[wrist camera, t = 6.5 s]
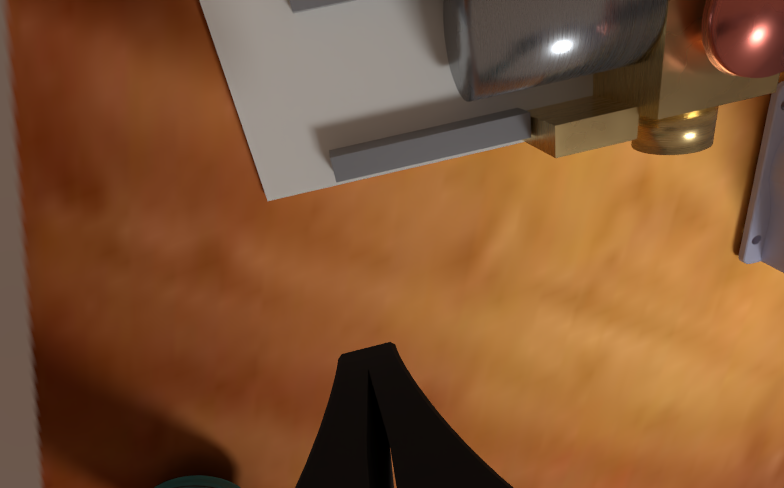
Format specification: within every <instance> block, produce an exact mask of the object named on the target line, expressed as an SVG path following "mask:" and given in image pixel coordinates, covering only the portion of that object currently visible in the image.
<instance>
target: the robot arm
mask: <svg viewBox="0 0 784 488" xmlns="http://www.w3.org/2000/svg"><path fill="white" fill-rule="evenodd" d="M783 101H784V81H782V82H780V83H779V84H778V85H777V90H776V92H775V93H772V94H771V99H770V103H769V108H768V113H767V118H766V123H765V128H764V133H763V138H762V143H761V148H760V153H759V158H758V163H757V167H756V172H755V177H754V182H753V187H752V192H751V197H750V202H749V207H748V212H747V217H746V222H745V227H744V231H743V236H742V241H741V246H740V251H739V260H740V261H742V262H744V263H746V264H751V263H755V262H759V261H762V262H764V263H766V264H768V265H770V266H772V267H773V268H775V269H777V270H779V271H781V272H783V273H784V102H783ZM782 102H783V104H782ZM781 104H782V106H781ZM390 448H391V452H390ZM391 454H392V461H393V467H394V473H395V479H396V486H397V488H513V487H512V486H511V485H510V484H509V483H507V482H506V481H505V480H504V479H503V478H501V477H500V476H499V475H498V474H497V473H496V472H495V471H494V470H493V469H492V468H491V467H490V466H489V465H487V464H486V463H485V462H484V461H483V460H482V459H481V458H480V457H479V456H478V455H477V454H476V453H475V452H474V451H473V450H472V449H471V448H470V447H469V446H468V445H467V444H466V443H465V442H464V441H463V440H462V439H461V438H460V436H459V435H458V434H457V433H456V432H455V431H454V430H453V429H452V428H451V426H450V425H449V424H448V423H447V422H446V421H445V420H444V418H443V417H442V416H441V415H440V414H439V412H438V411H437V410H436V409H435V407H434V406H433V405H432V404H431V402H430V401H429V400H428V398H427V397H426V396H425V394H424V393H423V392H422V390H421V389H420V388H419V386H418V385H417V384H416V382H415V381H414V379H413V378H412V376H411V374H410V373H409V371H408V370H407V368H406V366H405V365H404V363H403V361H402V359H401V357H400V355H399V353H398V351H397V348H396V345H395V344H393V343H391V342H388V343H384V344H380V345H376V346H372V347H368V348H364V349H360V350H356V351H353V352H349V353H345V354H342V355H341V356H340V357H339V359H338V365H337V370H336V375H335V379H334V383H333V387H332V391H331V394H330V398H329V401H328V404H327V407H326V410H325V414H324V417H323V420H322V423H321V426H320V429H319V431H318V434H317V437H316V439H315V442H314V444H313V447H312V449H311V452H310V454H309V457H308V460H307V462H306V465H305V467H304V469H303V471H302V474H301V476H300V478H299V480H298V483H297V485H296V487H295V488H394V483H393V473H392V462H391Z"/></svg>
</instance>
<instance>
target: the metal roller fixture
mask: <svg viewBox="0 0 784 488" xmlns="http://www.w3.org/2000/svg"><path fill="white" fill-rule="evenodd" d="M199 1H200V4H201V7H202V10H203V13H204V16H205V18H206V21H207V24H208V27H209V30H210V33H211V36H212V39H213V42H214V45H215V48H216V51H217V54H218V57H219V60H220V62H221V65H222V68H223V71H224V74H225V77H226V80H227V83H228V86H229V89H230V92H231V95H232V98H233V101H234V104H235V106H236V109H237V112H238V115H239V118H240V121H241V124H242V127H243V130H244V133H245V136H246V139H247V142H248V145H249V148H250V150H251V153H252V156H253V159H254V162H255V165H256V168H257V171H258V174H259V177H260V180H261V183H262V186H263V189H264V191H265V194H266V197H267V200H268V201H270V200H275V199H279V198H283V197H288V196H292V195H296V194H301V193H305V192H309V191H314V190H318V189H322V188H327V187H331V186H335V185H340V184H344V183H348V182H353V181H357V180H361V179H366V178H370V177H374V176H378V175H383V174H387V173H391V172H396V171H400V170H404V169H409V168H413V167H417V166H422V165H426V164H430V163H435V162H439V161H443V160H448V159H452V158H456V157H461V156H465V155H469V154H474V153H478V152H482V151H487V150H491V149H495V148H500V147H504V146H508V145H513V144H517V143H521V142H524V141H523V139H527V138H531V117H530V112H528V111H527V110H531V109H535V108H540V107H544V106H549V105H553V104H557V103H562V102H566V101H571V100H575V99H580V98H584V97H588V96H593V74H590V75H586V76H581V77H577V78H572V79H568V80H563V81H559V82H555V83H550V84H546V85H541V86H537V87H532V88H528V89H524V90H519V91H515V92H510V93H506V94H501V95H497V96H493V97H488V98H484V99H479V100H475V101H470V102H467V101H465V100H464V99H463V98H462V97H461V95H460V93H459V92H458V90H457V88H456V85H455V83H454V80H453V77H452V74H451V70H450V66H449V62H448V57H447V52H446V45H445V37H444V25H443V2H444V0H199Z"/></svg>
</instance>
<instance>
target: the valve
mask: <svg viewBox="0 0 784 488" xmlns="http://www.w3.org/2000/svg"><path fill="white" fill-rule="evenodd" d="M783 71H784V0H668V2H667V10H666V15H665V20H664V23H663V27H662V30H661V32H660V35H659V37H658V39H657V41H656V43H655V45H654V46H653V48H652V49H651V51H650V52H649V53H648V54H647V56H645V57H644V58H643V59H642V60H641V61H639V62H638V63H636V64H634V65H630V66H626V67H621V68H617V69H612V70H608V71H603V72H599V73H595V74H593V96H588V97H584V98H580V99H575V100H571V101H566V102H562V103H557V104H553V105H549V106H544V107H540V108H535V109H531V110H527V111H528V112H530V117H531V138H527V139H523V141H524V142H526V143H528V144H530V145H532V146H534V147H536V148H538V149H539V150H541V151H543V152H545V153H547V154H549V155H551V156H553V157H554V158H558V157H562V156H567V155H571V154H575V153H579V152H584V151H588V150H592V149H597V148H601V147H605V146H609V145H614V144H618V143H622V142H626V141H631V140H632V142H631V146H632V148H633V149H635V150H637V151H639V152H643V153H648V154H656V155H679V154H688V153H694V152H698V151H702V150H705V149H707V148H709V147H711V146H712V144H713V139H714V133H715V126H716V120H717V113H718V106H719V105H723V104H728V103H732V102H736V101H741V100H745V99H749V98H753V97H758V96H762V95H766V94H771V93H775V92H776V90H777V85H778V80H779V75H780V73H781V72H783Z"/></svg>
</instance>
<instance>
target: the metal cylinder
mask: <svg viewBox="0 0 784 488" xmlns="http://www.w3.org/2000/svg"><path fill="white" fill-rule="evenodd" d="M667 2H668V0H444V2H443V25H444V37H445V45H446V52H447V57H448V62H449V66H450V70H451V74H452V77H453V80H454V83H455V85H456V88H457V90H458V92H459V93H460V95H461V97H462V98H463V99H464V100H465V101H467V102H470V101H475V100H479V99H484V98H488V97H493V96H497V95H501V94H506V93H510V92H515V91H519V90H524V89H528V88H532V87H537V86H541V85H546V84H550V83H555V82H559V81H563V80H568V79H572V78H577V77H581V76H586V75H590V74H595V73H599V72H603V71H608V70H612V69H617V68H621V67H626V66H630V65H634V64H636V63H638V62H639V61H641V60H642V59H643V58H644V57H645V56H647V54H648V53H649V52H650V51H651V49H652V48H653V46H654V45H655V43H656V41H657V39H658V37H659V35H660V32H661V30H662V27H663V23H664V20H665V15H666V10H667Z"/></svg>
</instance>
